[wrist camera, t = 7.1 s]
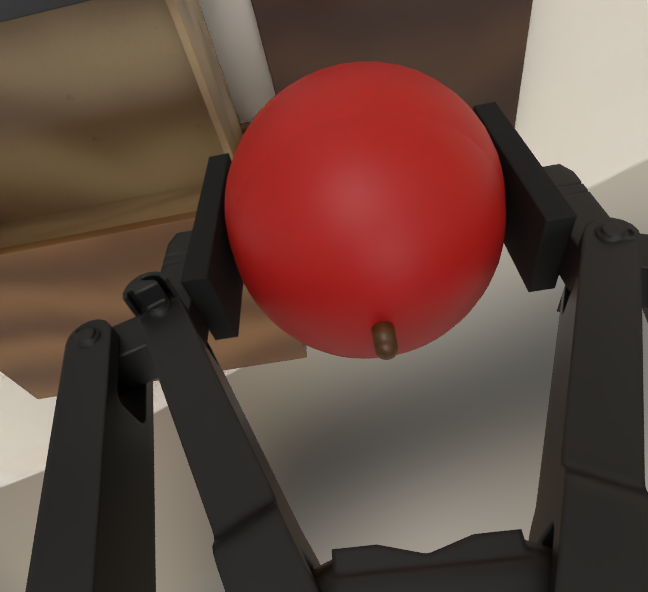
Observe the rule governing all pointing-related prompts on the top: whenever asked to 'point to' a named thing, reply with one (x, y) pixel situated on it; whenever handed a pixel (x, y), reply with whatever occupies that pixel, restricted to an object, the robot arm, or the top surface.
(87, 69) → the drawer
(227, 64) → the top surface
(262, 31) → the board
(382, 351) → the apple
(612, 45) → the top surface
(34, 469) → the top surface
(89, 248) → the cabinet
